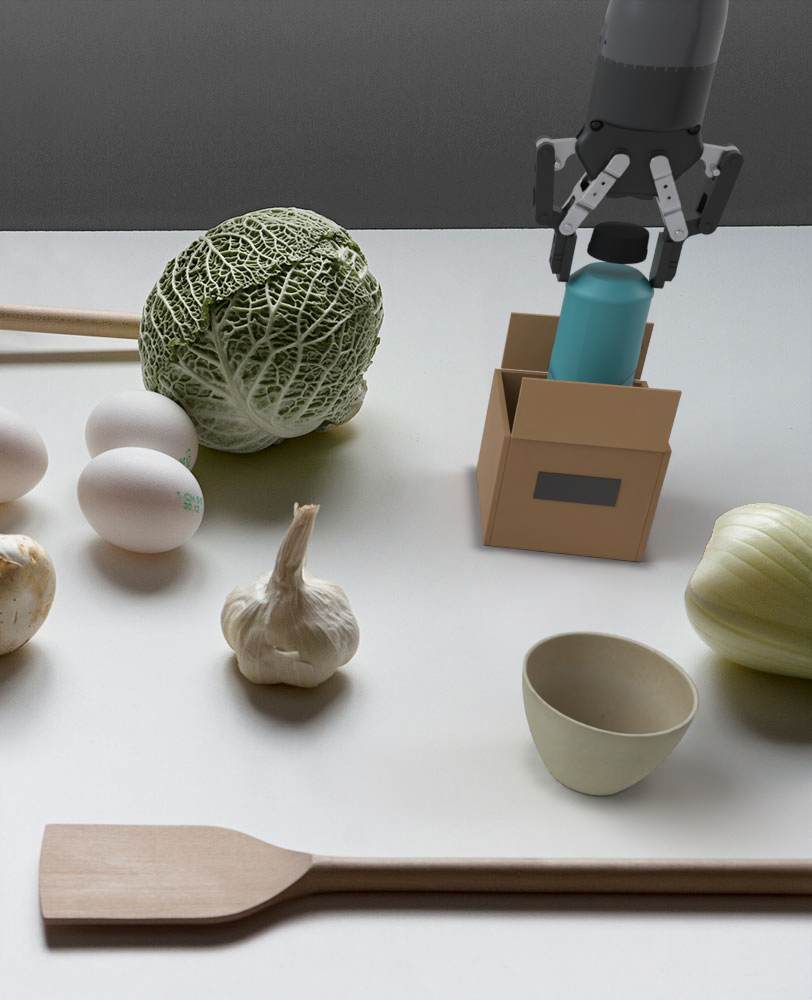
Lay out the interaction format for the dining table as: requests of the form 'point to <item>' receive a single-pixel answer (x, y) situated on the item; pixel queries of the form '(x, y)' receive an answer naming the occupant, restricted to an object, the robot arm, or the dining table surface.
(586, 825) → the dining table surface
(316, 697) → the dining table surface
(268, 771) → the dining table surface
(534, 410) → the carton
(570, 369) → the beverage bottle
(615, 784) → the beige bowl
